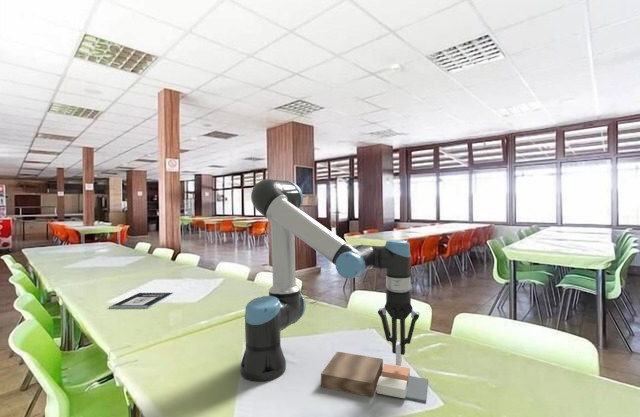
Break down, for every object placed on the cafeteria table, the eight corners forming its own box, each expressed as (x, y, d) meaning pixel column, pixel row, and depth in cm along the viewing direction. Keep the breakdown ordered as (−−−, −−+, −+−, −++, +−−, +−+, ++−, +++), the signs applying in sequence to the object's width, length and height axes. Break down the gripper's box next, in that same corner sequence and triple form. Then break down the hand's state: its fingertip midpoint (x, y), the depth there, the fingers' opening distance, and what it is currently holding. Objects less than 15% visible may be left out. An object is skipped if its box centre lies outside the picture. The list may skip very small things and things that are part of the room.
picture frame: (173, 294, 207) (173, 291, 207) (147, 310, 177) (147, 306, 177) (139, 294, 208) (139, 291, 208) (107, 310, 178) (107, 306, 178)
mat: (376, 392, 97) (376, 390, 97) (383, 373, 108) (383, 371, 108) (426, 402, 92) (426, 400, 92) (428, 380, 103) (428, 379, 103)
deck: (321, 386, 101) (321, 373, 101) (337, 362, 116) (337, 351, 116) (372, 397, 95) (372, 383, 95) (382, 370, 110) (382, 358, 110)
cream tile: (376, 393, 96) (376, 384, 96) (380, 384, 101) (380, 376, 101) (405, 398, 93) (405, 389, 93) (406, 389, 98) (406, 380, 98)
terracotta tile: (382, 379, 104) (381, 371, 104) (384, 371, 108) (384, 364, 108) (408, 383, 101) (408, 375, 101) (409, 375, 105) (409, 368, 105)
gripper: (375, 290, 103) (375, 365, 103) (418, 294, 98) (419, 373, 98) (379, 285, 110) (380, 355, 110) (420, 288, 105) (421, 361, 105)
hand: (398, 363), depth 104 cm, fingers closed
